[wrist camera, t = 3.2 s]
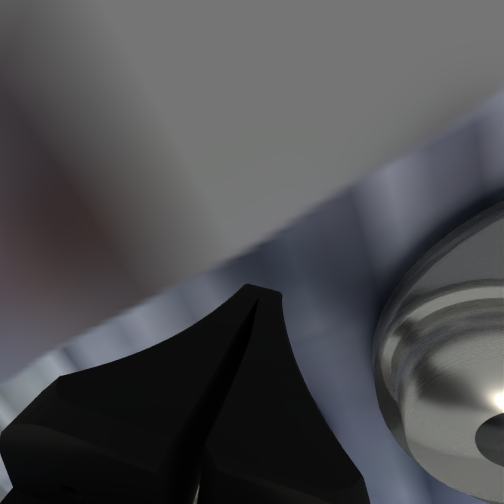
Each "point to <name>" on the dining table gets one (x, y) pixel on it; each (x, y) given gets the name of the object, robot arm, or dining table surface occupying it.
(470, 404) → the cover
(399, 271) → the dining table surface
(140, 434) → the robot arm
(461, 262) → the turntable
